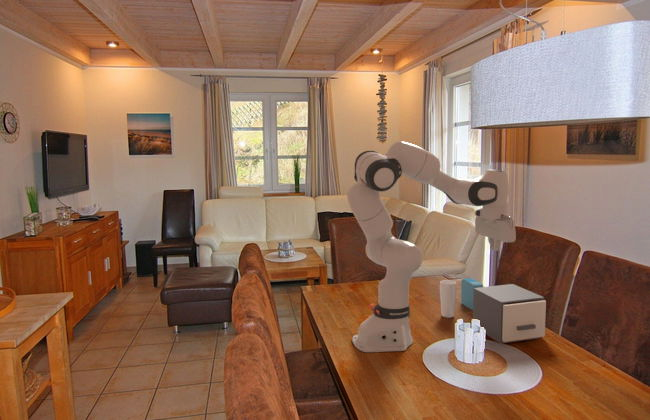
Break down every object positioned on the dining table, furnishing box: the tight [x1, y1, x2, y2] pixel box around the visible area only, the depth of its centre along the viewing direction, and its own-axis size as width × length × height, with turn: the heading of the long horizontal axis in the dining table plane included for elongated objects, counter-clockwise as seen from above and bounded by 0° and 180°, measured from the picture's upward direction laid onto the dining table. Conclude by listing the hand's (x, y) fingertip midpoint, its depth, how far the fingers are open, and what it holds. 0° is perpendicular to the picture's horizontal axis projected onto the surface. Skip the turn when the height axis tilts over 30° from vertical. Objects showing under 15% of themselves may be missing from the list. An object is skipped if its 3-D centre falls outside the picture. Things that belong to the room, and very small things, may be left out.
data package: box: [460, 277, 484, 312], centre depth 204 cm, size 12×4×12 cm, turn 10°
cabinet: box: [472, 283, 545, 344], centre depth 176 cm, size 18×18×16 cm
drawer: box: [502, 299, 547, 343], centre depth 173 cm, size 17×19×14 cm
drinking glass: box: [439, 279, 457, 319], centre depth 194 cm, size 7×7×15 cm
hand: (494, 250), depth 170 cm, fingers closed
